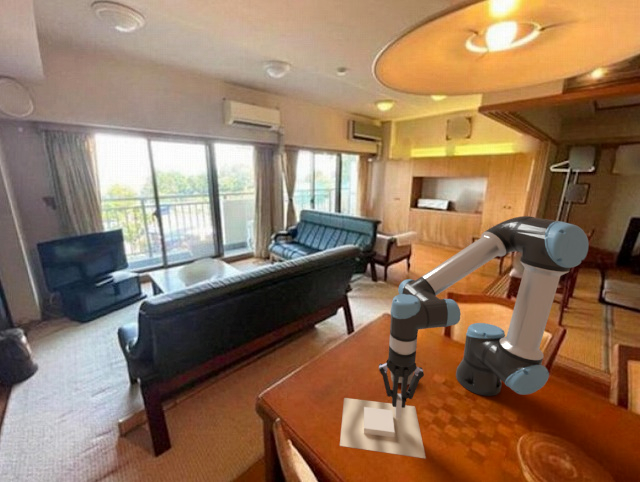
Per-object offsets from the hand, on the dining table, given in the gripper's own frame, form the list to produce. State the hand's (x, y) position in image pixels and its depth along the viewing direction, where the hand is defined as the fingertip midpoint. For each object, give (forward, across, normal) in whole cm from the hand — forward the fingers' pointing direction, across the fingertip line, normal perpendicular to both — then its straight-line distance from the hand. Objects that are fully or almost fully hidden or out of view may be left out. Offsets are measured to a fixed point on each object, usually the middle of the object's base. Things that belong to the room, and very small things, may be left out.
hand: (397, 414), depth 87 cm
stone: (+6, -2, -23) cm, 24 cm away
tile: (+4, +1, 0) cm, 4 cm away
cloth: (+5, +5, 0) cm, 7 cm away
